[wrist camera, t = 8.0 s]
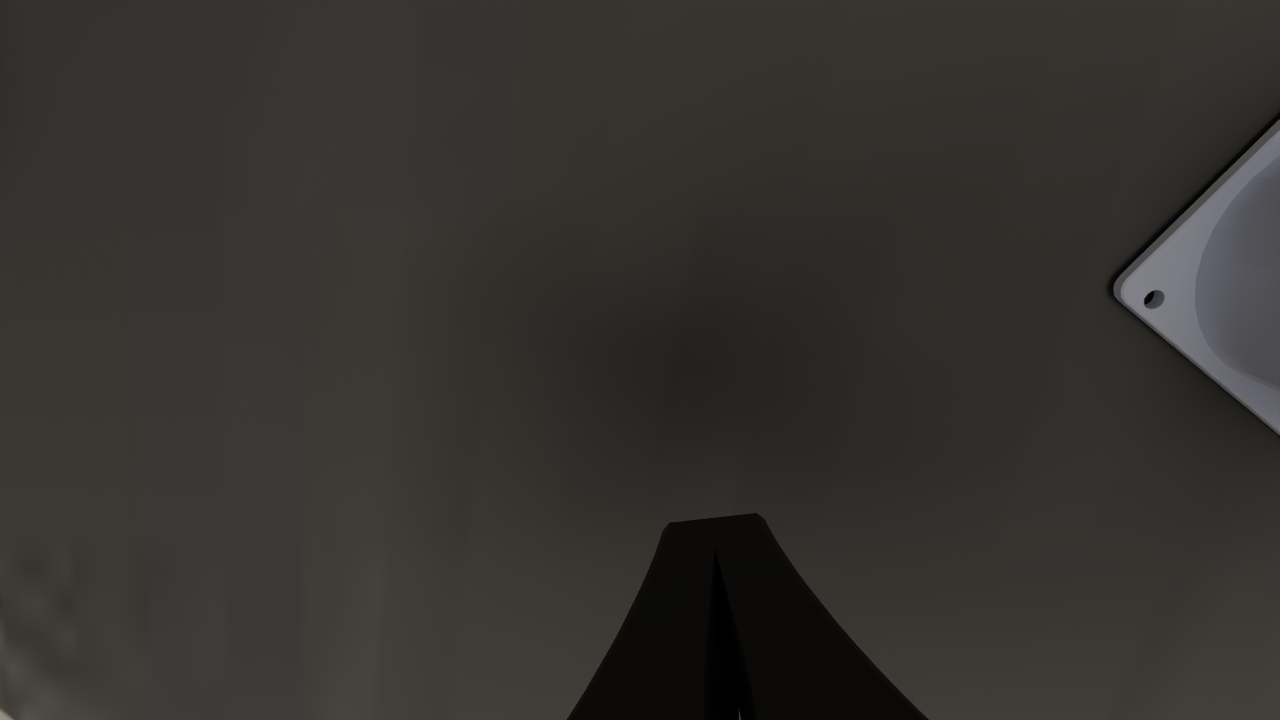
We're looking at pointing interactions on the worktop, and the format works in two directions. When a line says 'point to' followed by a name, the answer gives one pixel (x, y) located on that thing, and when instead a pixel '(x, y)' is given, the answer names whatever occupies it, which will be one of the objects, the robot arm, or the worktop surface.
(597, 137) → the worktop surface
